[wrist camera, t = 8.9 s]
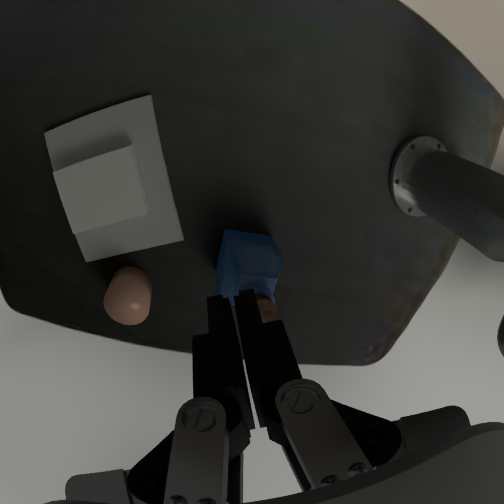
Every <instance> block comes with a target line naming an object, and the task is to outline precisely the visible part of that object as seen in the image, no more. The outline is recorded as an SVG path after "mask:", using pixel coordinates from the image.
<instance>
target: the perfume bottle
mask: <svg viewBox="0 0 504 504" xmlns="http://www.w3.org/2000/svg"><path fill="white" fill-rule="evenodd" d="M283 261H284V259H283V257H282V255H281V253H280V251H279V249H278V247H277V246H276V244H275V242H274V240H273V238H272V236H268V235H261V234H255V233H248V232H242V231H235V230H228V229H225V230H224V234H223V239H222V244H221V249H220V253H219V258H218V263H217V268H216V276H217V285H218V293H219V295H221V294H222V296H223V298H227V297H229V301H230V304H231V305H234V306H235V303H234V297H233V296H237V295H239V291H242V290H247V289H254V293H255V296H256V300H257V304H258V307H259V311H260V315H261V318H262V322H263V323H266V322H268V321H270V320H271V319H272V318H273V317H274V315H275V314H276V306H275V300H274V297H273V291H274V288H275V285H276V282H277V279H278V276H279V273H280V270H281V267H282V264H283Z"/></svg>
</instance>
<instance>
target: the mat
mask: <svg viewBox="0 0 504 504" xmlns="http://www.w3.org/2000/svg"><path fill="white" fill-rule="evenodd" d="M44 135H45V139H46V144H47V148H48V152H49V156H50V160H51V163H52V167H53V170H54V171H56V170H58V169H60V168H63V167H65V166H68V165H70V164H73V163H76V162H79V161H81V160H84V159H87V158H90V157H93V156H96V155H99V154H102V153H105V152H108V151H111V150H114V149H118V148H121V147H124V146H128V145H131V144H133V147H134V152H135V156H136V160H137V164H138V168H139V172H140V176H141V180H142V184H143V187H144V191H145V195H146V199H147V202H148V206H149V211H148V213H147V215H143V216H139V217H135V218H131V219H127V220H123V221H119V222H115V223H111V224H108V225H104V226H100V227H97V228H93V229H89V230H86V231H82V232H79V233H75V236H76V239H77V241H78V244H79V246H80V249H81V251H82V253H83V256H84V258H85V260H86V262H90V261H94V260H98V259H102V258H107V257H111V256H115V255H119V254H124V253H128V252H132V251H137V250H141V249H146V248H150V247H155V246H159V245H163V244H168V243H173V242H177V241H182V240H184V237H183V233H182V230H181V226H180V222H179V218H178V214H177V210H176V206H175V203H174V199H173V194H172V190H171V186H170V182H169V178H168V174H167V169H166V165H165V160H164V156H163V151H162V147H161V142H160V138H159V133H158V128H157V123H156V118H155V113H154V108H153V102H152V97H151V95H148V96H144V97H141V98H137V99H134V100H130V101H127V102H124V103H121V104H117V105H114V106H111V107H108V108H105V109H103V110H100V111H97V112H94V113H91V114H89V115H86V116H83V117H81V118H78V119H76V120H73V121H71V122H68V123H66V124H64V125H61V126H59V127H57V128H54V129H52V130H50V131H48V132H46V133H44Z"/></svg>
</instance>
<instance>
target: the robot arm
mask: <svg viewBox="0 0 504 504" xmlns="http://www.w3.org/2000/svg"><path fill="white" fill-rule="evenodd" d="M389 183H390V191H391V195H392V198H393V200H394V202H395V204H396V205H397V206H398V208H399V209H401V210H402V211H403V212H404V213H406V214H408V215H410V216H414V217H420V216H425V215H428V216H430V217H431V218H433V219H434V220H436V221H437V222H439V223H440V224H442V225H443V226H445V227H446V228H448V229H449V230H451V231H452V232H454V233H455V234H456V235H458V236H459V237H461V238H462V239H464V240H465V241H466V242H468V243H469V244H470V245H472V246H473V247H475V248H476V249H477V250H479V251H480V252H481V253H483V254H484V255H485V256H487V257H488V258H490V259H492V260H495V261H499V262H504V175H502V174H500V173H497V172H495V171H493V170H490V169H488V168H486V167H483V166H481V165H478V164H476V163H473V162H471V161H468V160H466V159H463V158H461V157H458V156H455V155H452V154H450V153H448V152H447V150H446V148H445V147H444V145H443V144H442V143H441V142H440V141H439V140H437V139H435V138H433V137H430V136H426V135H419V136H415V137H413V138H411V139H409V140H408V141H407V142H405V143H404V144H403V145H402V146H401V148H400V149H399V150H398V152H397V154H396V156H395V157H394V160H393V163H392V166H391V171H390V181H389ZM233 297H234V303H235V309H236V315H237V320H238V326H239V332H240V337H241V343H242V348H243V354H244V359H245V365H246V370H247V375H248V380H249V384H250V389H251V393H252V397H253V401H254V405H255V409H256V413H257V416H258V421H259V425H260V427H261V428H262V427H267V431H268V435H269V439H270V440H272V441H274V442H276V443H278V444H280V445H281V446H282V449H283V451H284V453H285V455H286V458H287V460H288V462H289V464H290V466H291V468H292V471H293V473H294V475H295V477H296V479H297V481H298V483H299V485H300V487H301V489H302V491H303V492H301V493H297V494H292V495H288V496H283V497H278V498H273V499H268V500H261V501H255V502H248V503H243V451H244V449H245V448H246V447H247V446H248V445H249V444H250V439H249V438H250V437H251V435H250V430H251V429H255V424H254V419H253V414H252V409H251V403H250V398H249V393H248V388H247V382H246V377H245V371H244V366H243V360H242V354H241V349H240V345H239V341H238V336H237V332H236V327H235V323H234V319H233V314H232V310H231V305H230V301H229V297H227V298H223V296H222V294H221V295H215V296H210V297H207V307H208V325H209V333H207V334H201V335H195V336H193V340H192V354H193V399H191V400H189V401H187V402H186V403H184V404H183V405H182V407H181V408H180V409H179V411H178V414H177V417H176V423H175V429H174V430H173V431H172V432H171V433H170V434H169V435H168V436H167V437H166V438H165V439H163V440H162V441H161V442H160V443H159V444H158V445H157V446H156V447H155V448H154V449H153V450H152V451H151V452H149V453H148V454H147V455H146V456H145V457H144V458H143V459H141V460H140V461H139V462H138V463H137V464H136V465H135V466H134V467H133V468H132V469H130V470H125V471H124V470H123V469H118V470H112V471H106V472H98V473H90V474H81V475H75V476H72V477H71V478H70V479H69V480H68V482H67V483H66V488H65V494H66V500H58V501H52V502H48V503H44V504H504V423H500V422H487V423H481V424H477V425H473V426H471V425H470V422H469V419H468V416H467V414H466V412H465V411H464V410H463V409H462V408H460V407H458V406H446V407H443V408H439V409H435V410H432V411H428V412H423V413H420V414H415V415H410V416H406V417H401V418H400V420H396V421H389V420H387V419H384V418H381V417H378V416H374V415H371V414H369V413H366V412H363V411H360V410H357V409H355V408H352V407H349V406H346V405H343V404H341V403H338V402H336V401H333V400H331V399H330V398H329V397H328V395H327V394H326V392H325V390H324V389H323V388H322V387H321V386H320V384H318V383H316V382H315V381H312V380H308V379H303V378H302V375H301V373H300V370H299V367H298V364H297V361H296V358H295V356H294V353H293V350H292V347H291V344H290V341H289V339H288V336H287V333H286V330H285V327H284V324H283V322H282V320H276V321H271V322H267V323H263V322H262V318H261V315H260V311H259V307H258V304H257V300H256V296H255V293H254V289H247V290H242V291H239V295H237V296H233ZM497 340H498V346H499V349H500V351H501V353H502V355H503V356H504V316H503V318H502V320H501V323H500V325H499V329H498V335H497Z"/></svg>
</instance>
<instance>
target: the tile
mask: <svg viewBox="0 0 504 504" xmlns="http://www.w3.org/2000/svg"><path fill="white" fill-rule="evenodd" d="M53 175H54V178H55V182H56V185H57V188H58V191H59V194H60V198H61V201H62V204H63V206H64V209H65V212H66V215H67V218H68V221H69V223H70V226H71V229H72V231H73V234H75V233H79V232H82V231H86V230H89V229H93V228H97V227H100V226H104V225H108V224H111V223H115V222H119V221H123V220H127V219H131V218H135V217H139V216H143V215H147V213H148V211H149V206H148V202H147V199H146V195H145V191H144V187H143V184H142V180H141V176H140V172H139V168H138V164H137V160H136V156H135V152H134V147H133V144H131V145H128V146H124V147H121V148H118V149H114V150H111V151H108V152H105V153H102V154H99V155H96V156H93V157H90V158H87V159H84V160H81V161H79V162H76V163H73V164H70V165H68V166H65V167H63V168H60V169H58V170H56V171H54V172H53Z"/></svg>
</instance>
